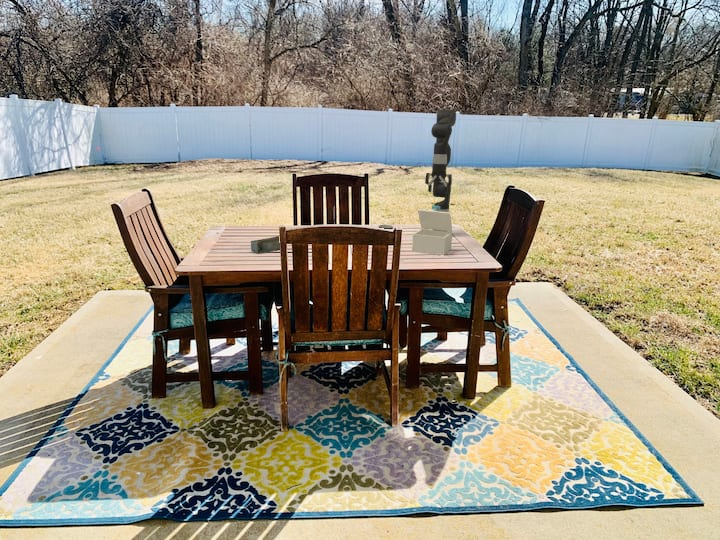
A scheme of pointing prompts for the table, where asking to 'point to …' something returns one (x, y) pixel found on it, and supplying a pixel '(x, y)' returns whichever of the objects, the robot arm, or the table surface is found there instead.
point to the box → (432, 241)
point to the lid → (435, 219)
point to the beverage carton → (265, 245)
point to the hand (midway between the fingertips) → (437, 192)
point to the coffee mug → (386, 226)
